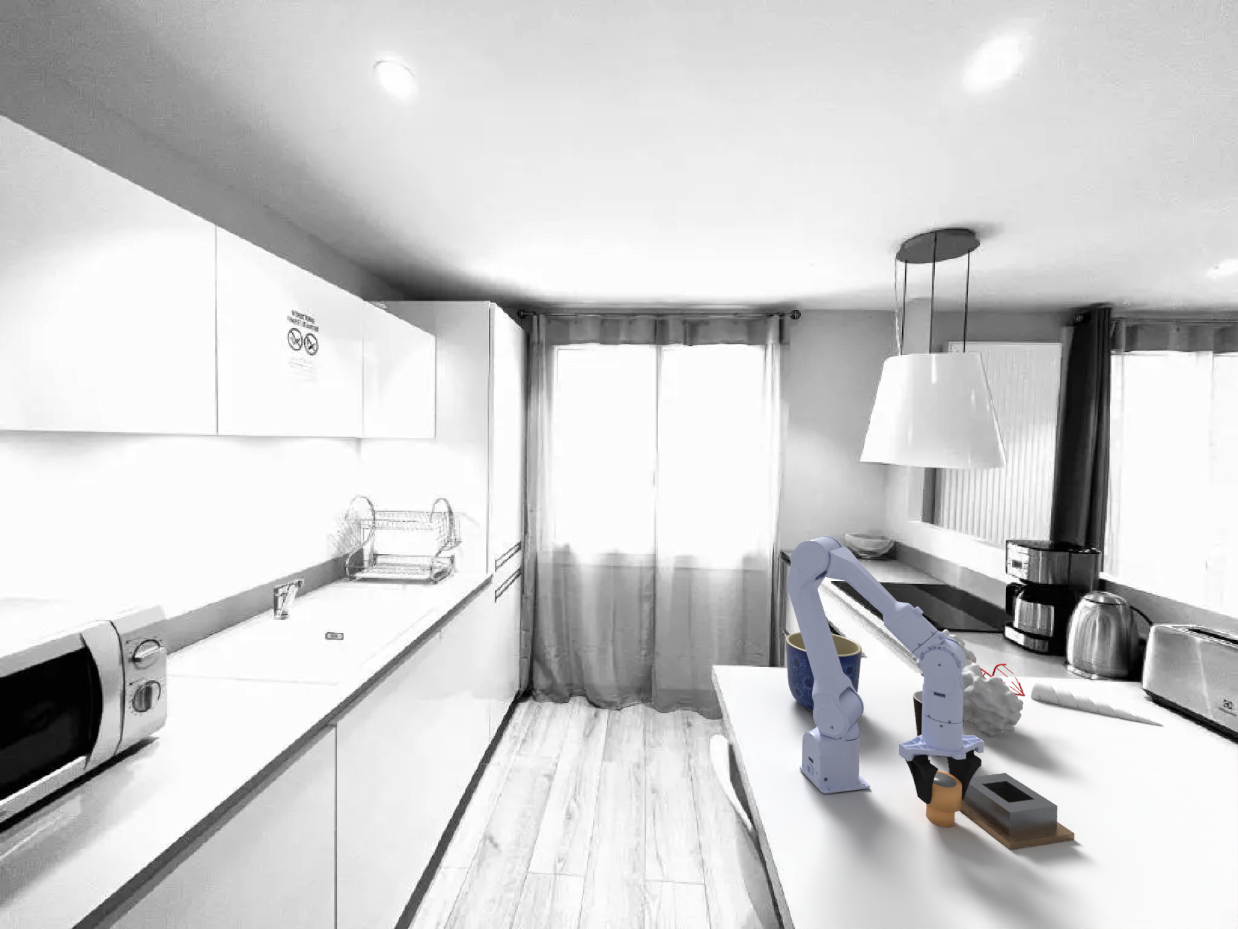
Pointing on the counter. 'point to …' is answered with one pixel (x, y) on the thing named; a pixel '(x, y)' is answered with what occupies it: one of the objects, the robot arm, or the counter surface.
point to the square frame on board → (1013, 812)
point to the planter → (802, 672)
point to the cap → (944, 799)
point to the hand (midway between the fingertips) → (940, 798)
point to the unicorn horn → (1080, 702)
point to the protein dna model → (987, 696)
